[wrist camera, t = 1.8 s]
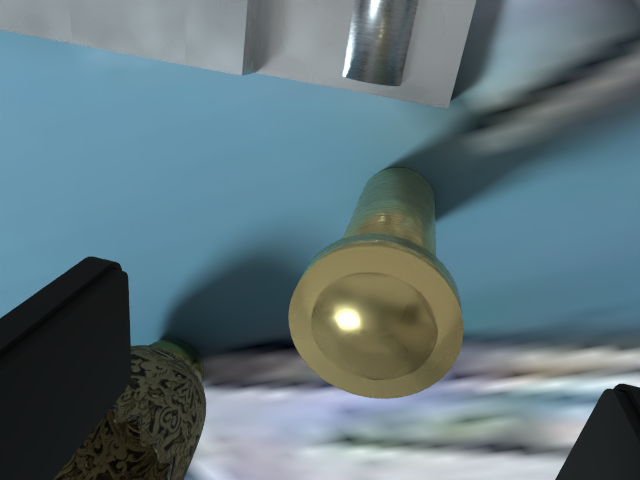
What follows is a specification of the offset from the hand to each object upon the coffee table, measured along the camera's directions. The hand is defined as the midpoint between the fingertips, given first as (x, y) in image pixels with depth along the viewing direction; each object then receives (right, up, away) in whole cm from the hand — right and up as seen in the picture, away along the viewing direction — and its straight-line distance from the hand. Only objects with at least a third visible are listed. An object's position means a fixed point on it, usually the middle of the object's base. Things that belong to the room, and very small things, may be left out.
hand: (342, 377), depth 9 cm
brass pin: (+3, +4, +12) cm, 13 cm away
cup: (-8, -4, +18) cm, 20 cm away
